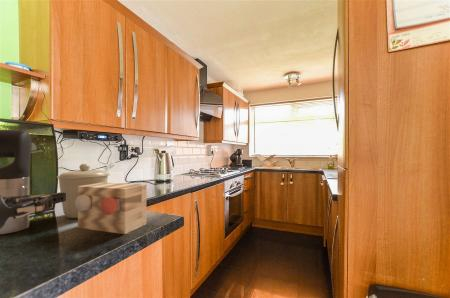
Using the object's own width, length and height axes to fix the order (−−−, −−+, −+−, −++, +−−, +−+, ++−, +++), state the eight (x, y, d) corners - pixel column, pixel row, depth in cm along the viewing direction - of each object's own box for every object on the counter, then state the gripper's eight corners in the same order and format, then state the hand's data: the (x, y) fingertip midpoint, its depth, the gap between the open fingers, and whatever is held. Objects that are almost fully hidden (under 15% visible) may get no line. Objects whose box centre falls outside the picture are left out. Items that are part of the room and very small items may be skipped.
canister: (84, 223, 77) (84, 164, 78) (43, 220, 81) (44, 164, 81) (118, 210, 95) (118, 162, 95) (84, 208, 99) (84, 162, 99)
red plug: (100, 214, 66) (100, 197, 66) (121, 207, 74) (121, 192, 74) (113, 215, 64) (113, 198, 64) (134, 208, 72) (134, 193, 72)
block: (77, 227, 73) (77, 186, 73) (102, 219, 82) (102, 182, 82) (125, 234, 67) (125, 188, 67) (146, 223, 76) (146, 184, 76)
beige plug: (75, 210, 70) (75, 194, 71) (97, 204, 79) (98, 190, 79) (86, 211, 69) (87, 195, 69) (109, 205, 77) (109, 191, 77)
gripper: (-17, 199, 35) (83, 183, 51) (-61, 193, 39) (45, 180, 55) (-17, 245, 35) (83, 214, 51) (-61, 235, 39) (45, 209, 55)
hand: (63, 196), depth 53 cm, fingers closed
